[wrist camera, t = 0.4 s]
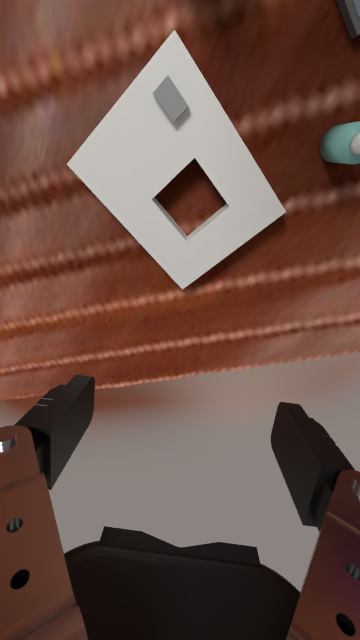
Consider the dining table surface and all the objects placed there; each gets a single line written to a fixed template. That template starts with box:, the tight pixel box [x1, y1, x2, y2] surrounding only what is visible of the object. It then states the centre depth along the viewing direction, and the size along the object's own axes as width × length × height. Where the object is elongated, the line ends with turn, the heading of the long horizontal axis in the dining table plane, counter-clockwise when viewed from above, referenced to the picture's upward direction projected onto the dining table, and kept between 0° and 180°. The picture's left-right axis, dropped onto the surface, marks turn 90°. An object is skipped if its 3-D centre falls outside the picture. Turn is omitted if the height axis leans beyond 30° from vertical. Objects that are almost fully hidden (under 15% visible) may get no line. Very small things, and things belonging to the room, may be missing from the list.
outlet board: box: [67, 30, 286, 290], centre depth 31 cm, size 20×16×3 cm
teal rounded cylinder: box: [319, 121, 360, 164], centre depth 27 cm, size 4×4×6 cm
